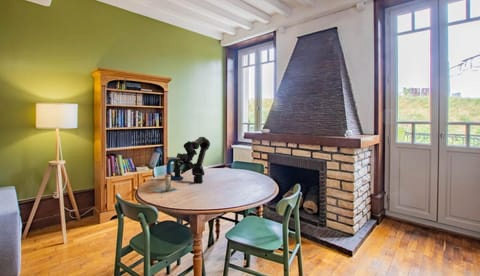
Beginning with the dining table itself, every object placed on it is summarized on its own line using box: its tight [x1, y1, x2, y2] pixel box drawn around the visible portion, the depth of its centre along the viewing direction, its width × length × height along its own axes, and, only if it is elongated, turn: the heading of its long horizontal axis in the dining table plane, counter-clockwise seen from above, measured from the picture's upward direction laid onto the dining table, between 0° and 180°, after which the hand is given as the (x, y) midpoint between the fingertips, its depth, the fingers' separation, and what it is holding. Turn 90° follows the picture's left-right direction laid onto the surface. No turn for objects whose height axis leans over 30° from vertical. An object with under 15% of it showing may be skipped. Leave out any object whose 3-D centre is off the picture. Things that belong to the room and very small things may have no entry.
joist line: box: [158, 187, 178, 194], centre depth 185 cm, size 12×4×1 cm, turn 139°
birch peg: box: [164, 174, 172, 191], centre depth 185 cm, size 4×4×11 cm
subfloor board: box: [147, 184, 181, 195], centre depth 190 cm, size 20×14×2 cm
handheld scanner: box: [165, 156, 184, 181], centre depth 223 cm, size 5×16×20 cm, turn 78°
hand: (177, 172), depth 190 cm, fingers open, 9 cm apart
